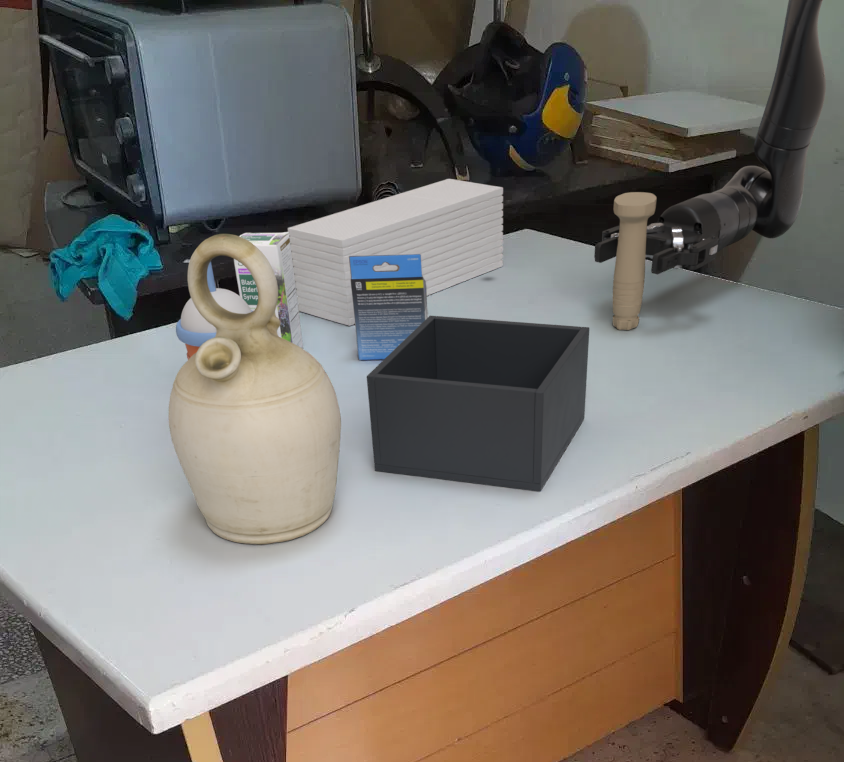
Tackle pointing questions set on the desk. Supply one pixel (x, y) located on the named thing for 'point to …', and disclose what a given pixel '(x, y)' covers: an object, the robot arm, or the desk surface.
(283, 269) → the syrup box
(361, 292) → the tape cartridge
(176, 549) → the desk surface
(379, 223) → the white rectangular block
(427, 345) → the bin
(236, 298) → the cup with straw
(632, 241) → the handle
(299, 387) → the jug
